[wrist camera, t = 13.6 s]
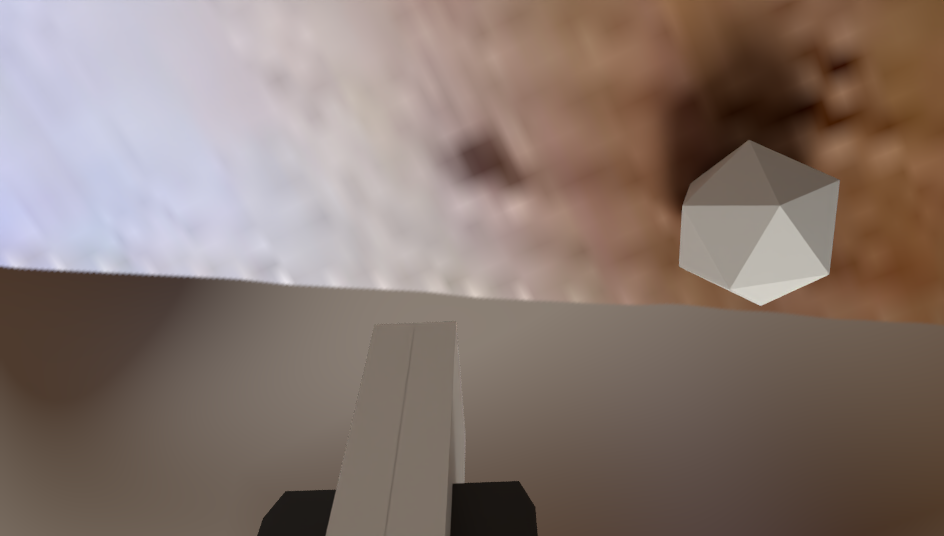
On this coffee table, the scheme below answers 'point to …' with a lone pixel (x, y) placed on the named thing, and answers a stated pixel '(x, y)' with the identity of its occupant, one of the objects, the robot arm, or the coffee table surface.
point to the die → (759, 224)
